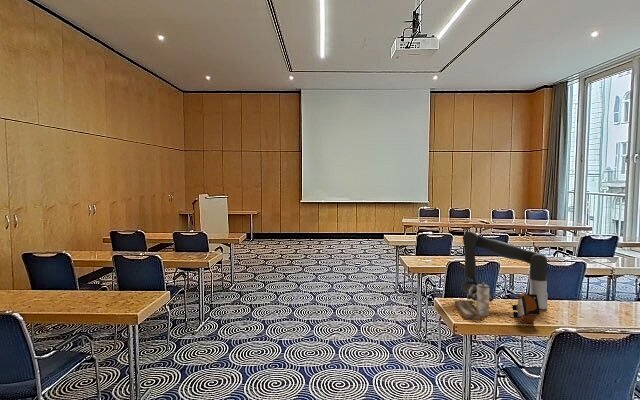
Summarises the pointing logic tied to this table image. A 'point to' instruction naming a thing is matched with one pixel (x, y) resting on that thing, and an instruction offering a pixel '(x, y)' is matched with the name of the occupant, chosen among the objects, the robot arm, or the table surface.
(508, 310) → the table surface
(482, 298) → the pale block with peg
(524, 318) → the toy
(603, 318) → the table surface
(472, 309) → the walnut board
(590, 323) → the table surface
